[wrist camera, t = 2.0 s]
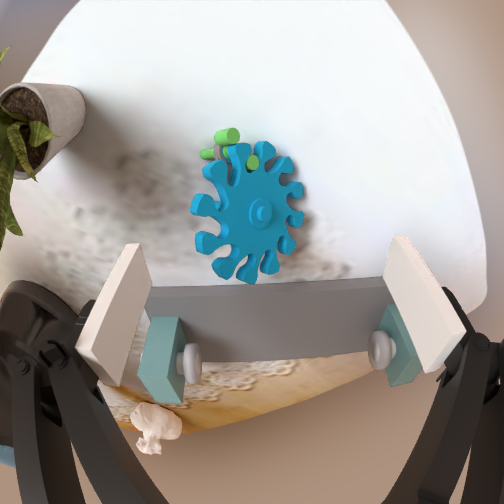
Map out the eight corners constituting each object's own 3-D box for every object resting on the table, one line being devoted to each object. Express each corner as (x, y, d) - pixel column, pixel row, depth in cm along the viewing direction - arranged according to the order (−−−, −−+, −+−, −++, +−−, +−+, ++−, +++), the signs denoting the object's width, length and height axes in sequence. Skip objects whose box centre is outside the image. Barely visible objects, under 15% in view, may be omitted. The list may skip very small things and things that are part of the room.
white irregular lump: (134, 388, 48) (110, 430, 43) (147, 404, 42) (120, 449, 37) (180, 410, 53) (157, 448, 48) (197, 425, 47) (172, 466, 43)
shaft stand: (166, 351, 35) (155, 411, 28) (139, 287, 28) (115, 356, 21) (389, 338, 35) (409, 391, 28) (418, 273, 28) (453, 332, 21)
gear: (318, 244, 24) (231, 315, 18) (268, 234, 28) (186, 289, 23) (293, 112, 19) (173, 147, 13) (240, 122, 23) (135, 158, 18)
